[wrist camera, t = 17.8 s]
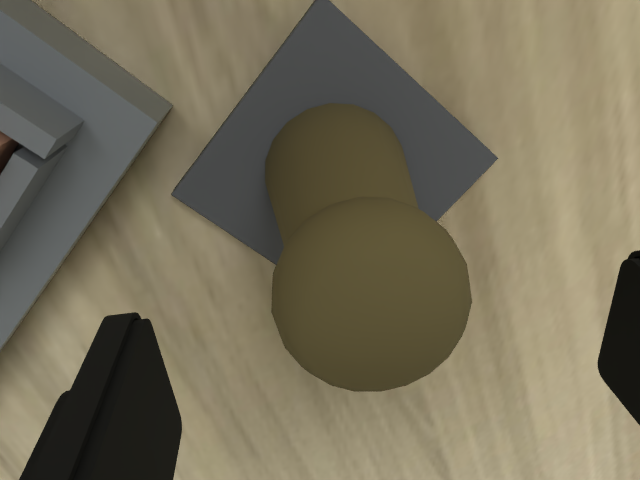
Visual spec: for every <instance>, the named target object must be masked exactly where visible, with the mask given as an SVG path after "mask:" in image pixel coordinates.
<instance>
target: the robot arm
mask: <svg viewBox="0 0 640 480" xmlns="http://www.w3.org/2000/svg"><path fill="white" fill-rule="evenodd" d="M598 370H599V373H600V375H601V377H602V379H603V380H604V382H605V383H606V384H607V385H608V386H609V388H610V389H611V390H612V391H613V393H614V394H615V395H616V396H617V398H618V399H619V400H620V401H621V403H622V404H623V405H624V406H625V408H626V409H627V410H628V411H629V413H630V414H631V415H632V416H633V418H634V419H635V420H636V421H637V423H638V424H639V425H640V250H639V251H634V252H632V253H631V254H630V255H629V257H628V259H627V260H624V261H623V262H622V264H621V267H620V271H619V275H618V279H617V283H616V287H615V291H614V295H613V300H612V304H611V308H610V312H609V316H608V320H607V324H606V329H605V333H604V337H603V341H602V345H601V349H600V353H599V358H598ZM181 433H182V422H181V416H180V412H179V409H178V406H177V403H176V400H175V397H174V393H173V390H172V387H171V384H170V381H169V377H168V374H167V371H166V368H165V365H164V362H163V358H162V355H161V352H160V349H159V346H158V343H157V339H156V336H155V333H154V330H153V327H152V324H151V321H150V320H149V319H141V317H140V315H139V314H138V313H136V312H135V313H126V314H118V315H110V316H106V317H105V318H104V319H103V321H102V323H101V325H100V327H99V329H98V331H97V334H96V336H95V338H94V340H93V342H92V344H91V347H90V349H89V351H88V353H87V355H86V357H85V359H84V362H83V364H82V366H81V368H80V370H79V372H78V375H77V377H76V379H75V381H74V383H73V385H72V388H71V390H70V391H66V392H64V393H63V394H62V395H61V396H60V397H59V399H58V401H57V402H56V404H55V406H54V408H53V411H52V413H51V415H50V417H49V419H48V421H47V423H46V425H45V427H44V429H43V431H42V433H41V435H40V437H39V440H38V442H37V444H36V446H35V448H34V450H33V452H32V454H31V456H30V458H29V460H28V462H27V464H26V467H25V469H24V471H23V473H22V475H21V477H20V479H19V480H173V477H174V472H175V466H176V461H177V455H178V450H179V445H180V439H181Z"/></svg>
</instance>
